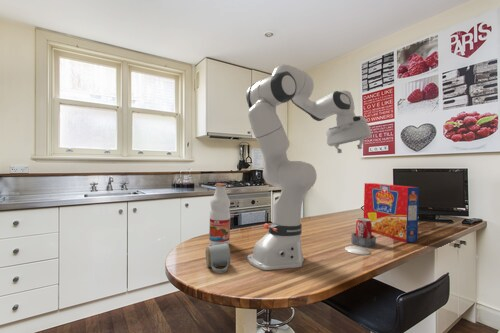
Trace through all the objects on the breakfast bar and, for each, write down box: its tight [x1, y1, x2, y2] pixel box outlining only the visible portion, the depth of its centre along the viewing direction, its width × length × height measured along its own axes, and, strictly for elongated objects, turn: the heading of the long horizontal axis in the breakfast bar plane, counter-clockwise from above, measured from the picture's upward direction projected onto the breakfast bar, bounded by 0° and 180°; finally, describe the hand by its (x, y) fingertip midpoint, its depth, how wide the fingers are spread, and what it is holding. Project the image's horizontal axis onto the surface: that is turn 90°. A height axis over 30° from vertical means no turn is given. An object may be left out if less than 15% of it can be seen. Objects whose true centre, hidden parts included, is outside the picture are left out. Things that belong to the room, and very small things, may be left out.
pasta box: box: [363, 182, 420, 244], centre depth 141 cm, size 28×8×28 cm, turn 20°
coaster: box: [344, 245, 371, 256], centre depth 112 cm, size 10×10×1 cm
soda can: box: [355, 217, 373, 238], centre depth 123 cm, size 7×7×12 cm
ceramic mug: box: [205, 243, 232, 274], centre depth 90 cm, size 11×8×8 cm
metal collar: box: [350, 232, 377, 248], centre depth 123 cm, size 11×11×4 cm
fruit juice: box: [208, 182, 231, 246], centre depth 116 cm, size 9×9×28 cm
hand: (349, 150), depth 118 cm, fingers open, 8 cm apart
